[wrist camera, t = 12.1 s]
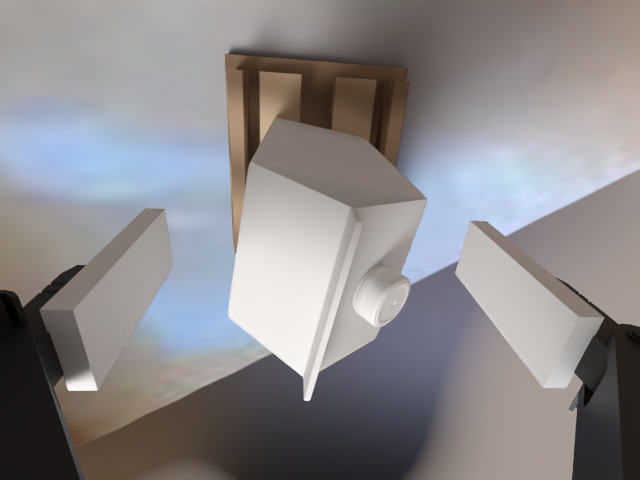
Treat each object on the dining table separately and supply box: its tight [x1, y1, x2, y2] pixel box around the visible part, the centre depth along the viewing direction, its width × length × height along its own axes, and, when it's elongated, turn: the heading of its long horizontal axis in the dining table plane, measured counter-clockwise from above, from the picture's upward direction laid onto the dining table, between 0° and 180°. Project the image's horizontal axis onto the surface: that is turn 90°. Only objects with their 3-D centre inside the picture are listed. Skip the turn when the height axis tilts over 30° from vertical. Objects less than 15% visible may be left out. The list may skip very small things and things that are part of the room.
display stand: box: [225, 54, 409, 254], centre depth 29 cm, size 16×14×4 cm
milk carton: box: [228, 117, 427, 401], centre depth 20 cm, size 7×7×19 cm
